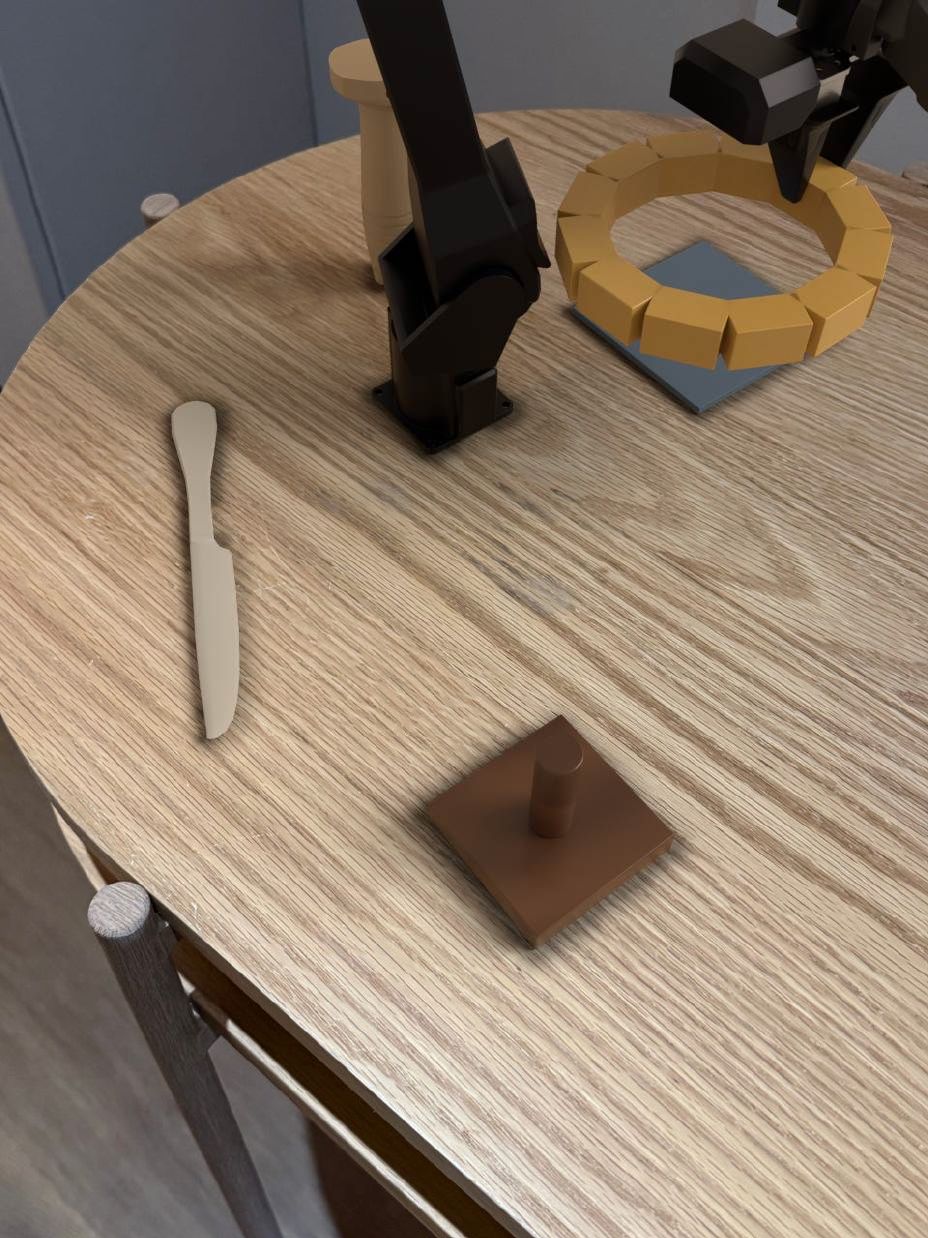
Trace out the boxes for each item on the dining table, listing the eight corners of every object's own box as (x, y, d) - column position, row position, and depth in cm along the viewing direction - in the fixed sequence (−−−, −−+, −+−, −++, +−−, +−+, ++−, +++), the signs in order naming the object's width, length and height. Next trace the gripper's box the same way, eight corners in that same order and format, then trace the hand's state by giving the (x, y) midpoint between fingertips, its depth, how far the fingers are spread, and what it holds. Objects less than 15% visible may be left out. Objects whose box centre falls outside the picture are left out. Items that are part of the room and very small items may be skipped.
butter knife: (218, 396, 70) (169, 402, 69) (247, 731, 56) (186, 740, 56) (219, 401, 70) (171, 407, 70) (248, 735, 56) (188, 744, 56)
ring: (493, 249, 62) (494, 210, 60) (710, 135, 68) (717, 96, 66) (722, 418, 54) (731, 379, 52) (943, 272, 60) (959, 233, 58)
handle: (449, 292, 77) (447, 73, 65) (354, 304, 76) (334, 85, 64) (436, 248, 79) (432, 31, 67) (344, 259, 79) (323, 42, 67)
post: (428, 817, 54) (424, 735, 48) (559, 729, 57) (571, 641, 51) (535, 950, 50) (546, 880, 44) (670, 848, 53) (697, 769, 47)
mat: (570, 312, 75) (571, 306, 75) (702, 245, 80) (703, 239, 79) (697, 414, 70) (699, 408, 69) (832, 336, 74) (834, 330, 74)
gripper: (888, 8, 43) (793, 335, 56) (1181, -117, 50) (1037, 201, 62) (687, -96, 49) (642, 224, 61) (975, -197, 55) (881, 111, 68)
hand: (807, 190), depth 63 cm, fingers closed on ring, 2 cm apart
